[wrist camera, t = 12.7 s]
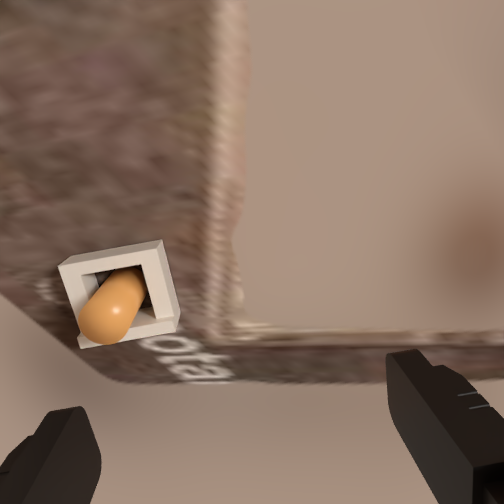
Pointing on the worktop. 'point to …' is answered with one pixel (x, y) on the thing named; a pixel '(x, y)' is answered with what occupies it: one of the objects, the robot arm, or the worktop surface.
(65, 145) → the worktop surface
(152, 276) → the housing
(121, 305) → the orange capsule
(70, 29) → the worktop surface
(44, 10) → the worktop surface
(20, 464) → the robot arm
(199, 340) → the worktop surface
